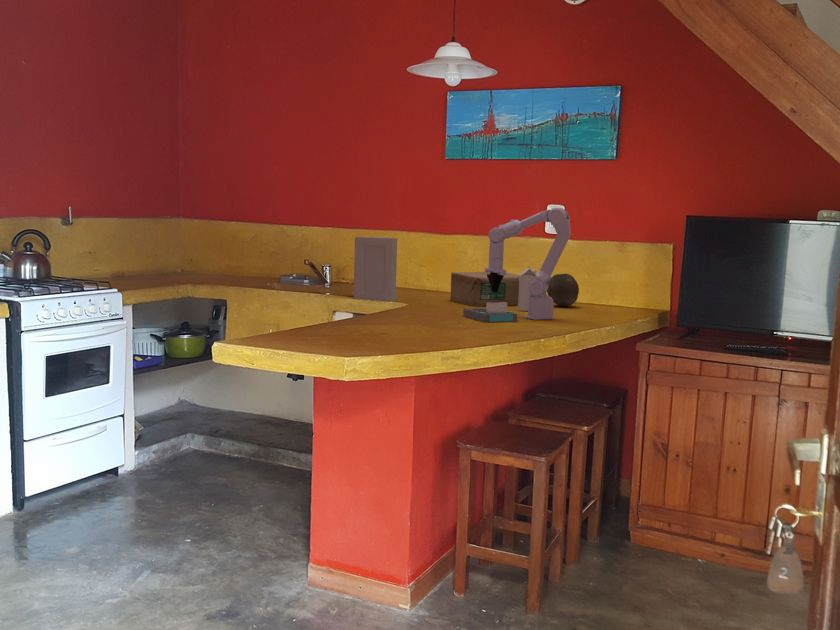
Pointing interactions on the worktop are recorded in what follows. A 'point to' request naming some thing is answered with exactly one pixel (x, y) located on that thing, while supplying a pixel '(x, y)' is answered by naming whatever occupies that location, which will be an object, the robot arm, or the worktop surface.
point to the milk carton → (525, 288)
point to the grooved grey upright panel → (375, 268)
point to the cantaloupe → (563, 289)
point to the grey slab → (496, 307)
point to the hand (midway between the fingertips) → (494, 291)
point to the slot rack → (489, 315)
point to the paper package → (483, 289)
